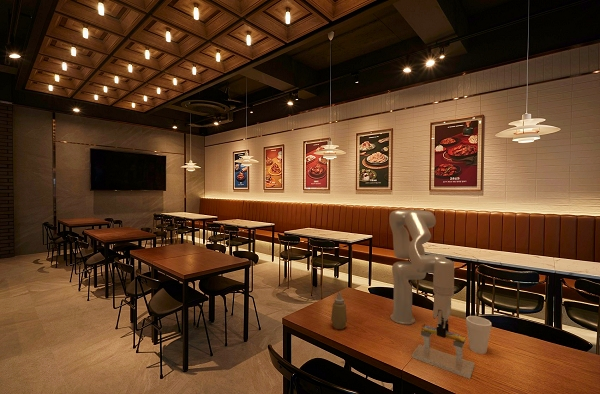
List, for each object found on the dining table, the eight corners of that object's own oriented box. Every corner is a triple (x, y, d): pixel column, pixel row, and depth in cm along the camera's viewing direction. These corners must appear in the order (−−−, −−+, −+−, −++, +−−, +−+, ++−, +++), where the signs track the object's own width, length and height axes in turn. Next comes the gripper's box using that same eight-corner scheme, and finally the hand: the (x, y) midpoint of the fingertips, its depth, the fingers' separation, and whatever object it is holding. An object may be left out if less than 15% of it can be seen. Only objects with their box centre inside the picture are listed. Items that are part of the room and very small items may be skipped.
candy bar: (419, 330, 117) (419, 326, 117) (422, 326, 120) (422, 322, 120) (464, 344, 106) (465, 339, 106) (466, 340, 110) (466, 335, 110)
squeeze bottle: (348, 325, 144) (349, 290, 144) (344, 332, 137) (344, 296, 137) (333, 322, 148) (334, 288, 148) (328, 328, 140) (329, 293, 140)
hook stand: (419, 347, 124) (419, 321, 124) (474, 366, 111) (474, 337, 110) (412, 357, 116) (412, 330, 116) (470, 379, 103) (470, 348, 103)
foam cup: (482, 358, 116) (483, 327, 116) (461, 347, 124) (461, 318, 124) (495, 352, 121) (496, 322, 120) (473, 342, 129) (474, 314, 129)
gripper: (438, 283, 122) (437, 324, 122) (427, 293, 109) (427, 339, 109) (457, 286, 117) (457, 329, 117) (449, 298, 104) (448, 346, 105)
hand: (442, 333), depth 113 cm, fingers closed on candy bar, 4 cm apart
